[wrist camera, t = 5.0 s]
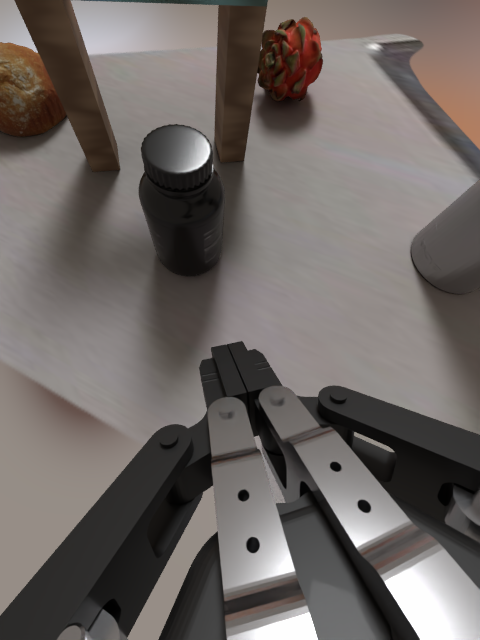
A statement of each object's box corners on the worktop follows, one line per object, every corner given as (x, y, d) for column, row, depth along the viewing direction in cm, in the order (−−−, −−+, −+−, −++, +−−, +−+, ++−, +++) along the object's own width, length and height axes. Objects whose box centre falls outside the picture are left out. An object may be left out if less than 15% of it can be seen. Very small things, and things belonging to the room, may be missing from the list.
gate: (236, 137, 36) (258, -60, 21) (244, 160, 35) (272, -32, 20) (90, 146, 33) (-5, -81, 18) (92, 171, 32) (-8, -49, 17)
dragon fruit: (257, 126, 40) (284, 95, 46) (315, 106, 35) (337, 73, 41) (233, 50, 34) (268, 25, 40) (299, 13, 29) (327, -9, 35)
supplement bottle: (206, 217, 31) (206, 105, 20) (231, 266, 30) (246, 173, 18) (147, 234, 30) (111, 122, 19) (169, 287, 28) (145, 199, 17)
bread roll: (1, 124, 37) (-78, 69, 29) (48, 61, 36) (-21, -13, 28) (43, 169, 36) (-29, 123, 28) (93, 105, 34) (33, 39, 27)
